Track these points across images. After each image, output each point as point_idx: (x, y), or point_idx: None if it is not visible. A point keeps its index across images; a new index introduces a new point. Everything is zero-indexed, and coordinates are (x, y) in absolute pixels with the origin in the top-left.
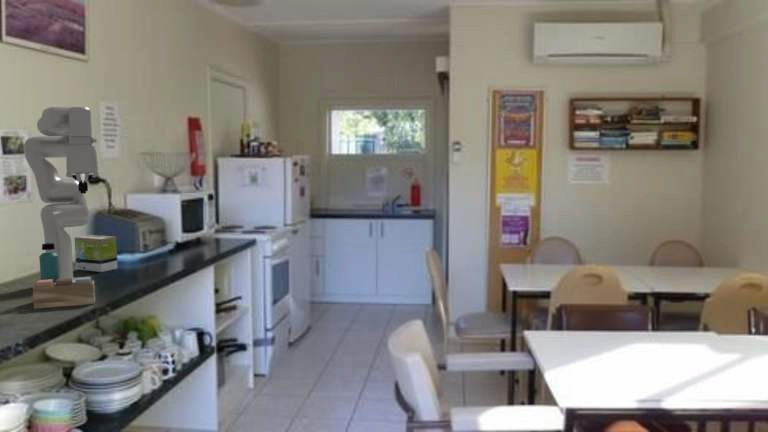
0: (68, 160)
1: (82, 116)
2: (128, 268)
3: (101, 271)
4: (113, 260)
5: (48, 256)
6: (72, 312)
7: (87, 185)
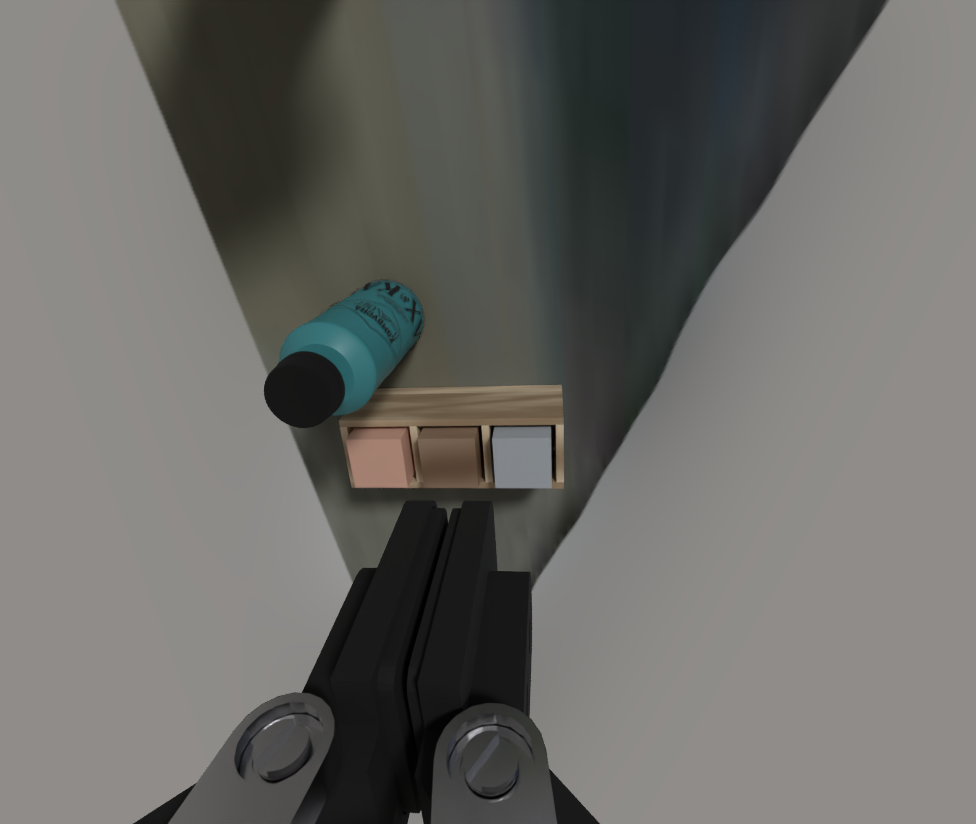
0: None
1: None
2: None
3: None
4: None
5: (336, 415)
6: (505, 539)
7: (526, 684)
